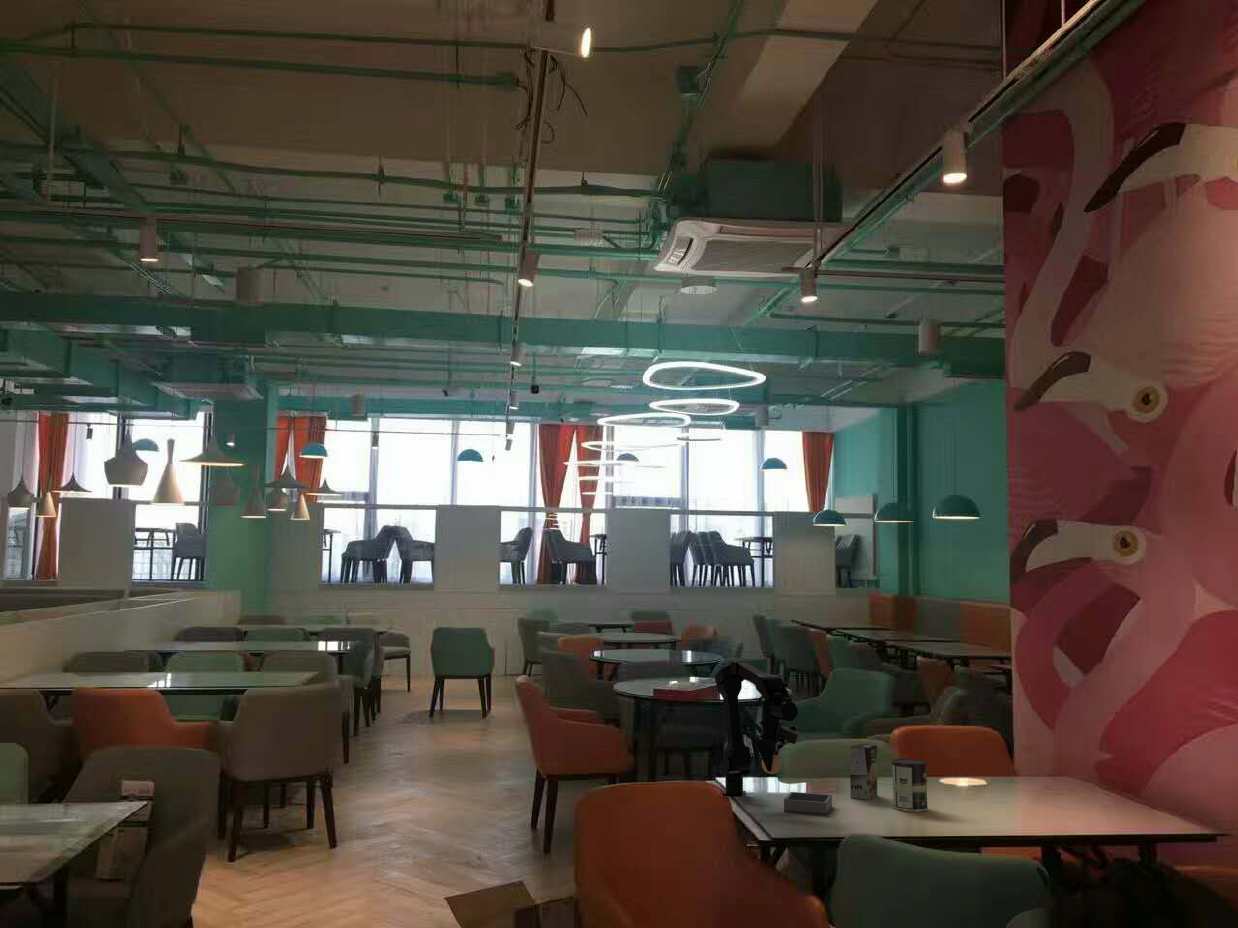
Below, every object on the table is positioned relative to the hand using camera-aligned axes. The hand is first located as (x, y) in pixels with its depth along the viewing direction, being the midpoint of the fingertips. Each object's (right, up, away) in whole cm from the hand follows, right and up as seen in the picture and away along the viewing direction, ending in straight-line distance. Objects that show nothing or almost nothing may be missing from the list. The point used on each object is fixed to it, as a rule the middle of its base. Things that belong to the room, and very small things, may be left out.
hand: (771, 769), depth 308 cm
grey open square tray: (+11, -11, -3) cm, 16 cm away
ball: (0, +2, 0) cm, 2 cm away
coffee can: (+42, -12, -1) cm, 44 cm away
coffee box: (+32, -14, +17) cm, 39 cm away
